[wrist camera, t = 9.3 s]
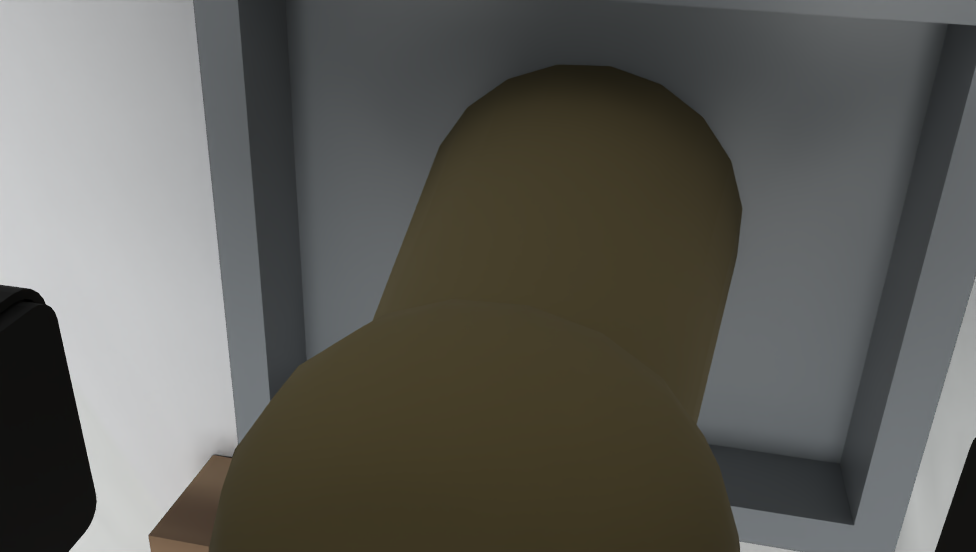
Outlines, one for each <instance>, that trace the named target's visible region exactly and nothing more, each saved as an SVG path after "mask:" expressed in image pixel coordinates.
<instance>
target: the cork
mask: <svg viewBox="0 0 976 552" xmlns="http://www.w3.org/2000/svg"><path fill="white" fill-rule="evenodd" d="M742 209H743V208H742V204H741V200H740V196H739V191H738V187H737V183H736V179H735V175H734V170H733V166H732V162H731V160H730V158H729V156H728V155H727V153H726V152H725V150H724V149H723V147H722V146H721V144H720V143H719V141H718V139H717V138H716V136H715V135H714V133H713V132H712V130H711V129H710V127H709V126H708V124H707V123H706V121H705V119H704V118H703V117H702V116H701V115H700V114H698V113H697V112H696V111H694V110H693V109H692V108H691V107H689V106H688V105H687V104H686V103H684V102H683V101H682V100H680V99H679V98H678V97H677V96H675V95H674V94H673V93H672V92H670V91H669V90H668V89H666V88H665V87H664V86H663V85H661V84H659V83H656V82H653V81H650V80H648V79H645V78H642V77H639V76H636V75H634V74H631V73H628V72H625V71H623V70H620V69H617V68H614V67H612V66H589V65H558V64H557V65H554V66H551V67H547V68H544V69H540V70H537V71H534V72H530V73H527V74H523V75H520V76H517V77H513V78H510V79H507V80H506V81H504V82H503V83H501V84H500V85H499V86H497V87H496V88H494V89H493V90H492V91H490V92H489V93H487V94H486V95H484V96H483V97H482V98H480V99H479V100H477V101H476V102H474V103H473V104H472V105H470V106H469V107H467V109H466V110H465V111H464V113H463V114H462V116H461V117H460V118H459V120H458V121H457V123H456V124H455V125H454V127H453V128H452V129H451V131H450V132H449V134H448V135H447V136H446V138H445V139H444V141H443V142H442V143H441V145H440V146H439V149H438V152H437V154H436V157H435V159H434V162H433V165H432V167H431V170H430V172H429V175H428V178H427V180H426V183H425V185H424V188H423V191H422V193H421V196H420V198H419V201H418V204H417V206H416V209H415V211H414V214H413V217H412V219H411V222H410V224H409V227H408V230H407V232H406V235H405V237H404V240H403V243H402V245H401V248H400V250H399V253H398V256H397V258H396V261H395V263H394V266H393V269H392V271H391V274H390V276H389V279H388V282H387V284H386V287H385V289H384V292H383V295H382V297H381V300H380V302H379V305H378V308H377V310H376V313H375V315H374V318H373V321H371V322H370V323H368V324H366V325H364V326H363V327H361V328H359V329H358V330H356V331H354V332H353V333H351V334H349V335H348V336H346V337H345V338H343V339H341V340H340V341H338V342H336V343H335V344H333V345H332V346H330V347H328V348H327V349H325V350H323V351H322V352H320V353H319V354H317V355H315V356H314V357H312V358H310V359H309V360H307V361H306V362H304V363H302V364H301V365H299V366H298V367H297V368H296V370H295V371H294V372H293V373H292V374H291V376H290V377H289V378H288V379H287V381H286V382H285V383H284V384H283V386H282V387H281V388H280V389H279V391H278V392H277V393H276V394H275V396H274V397H273V398H272V399H271V401H270V402H269V404H268V405H267V406H266V408H265V409H264V410H263V412H262V413H261V415H260V416H259V417H258V419H257V420H256V421H255V423H254V424H253V425H252V427H251V428H250V430H249V431H248V432H247V434H246V435H245V436H244V438H243V439H242V441H241V442H240V443H239V445H238V446H237V447H236V449H235V451H234V454H233V457H232V460H231V463H230V466H229V469H228V472H227V475H226V478H225V481H224V484H223V487H222V490H221V494H220V499H219V503H218V508H217V513H216V517H215V522H214V527H213V531H212V536H211V541H210V545H209V552H740V545H739V535H738V531H737V528H736V524H735V520H734V517H733V513H732V510H731V506H730V502H729V499H728V495H727V492H726V488H725V484H724V481H723V477H722V474H721V470H720V467H719V465H718V463H717V461H716V459H715V457H714V455H713V453H712V451H711V449H710V447H709V444H708V442H707V440H706V438H705V436H704V435H703V433H702V432H701V431H700V429H699V428H698V426H697V421H698V417H699V413H700V409H701V405H702V400H703V396H704V392H705V388H706V384H707V380H708V375H709V371H710V367H711V363H712V359H713V355H714V350H715V346H716V342H717V338H718V334H719V330H720V325H721V321H722V317H723V313H724V309H725V305H726V300H727V296H728V292H729V288H730V284H731V280H732V275H733V271H734V267H735V263H736V259H737V253H738V244H739V236H740V227H741V218H742Z"/></svg>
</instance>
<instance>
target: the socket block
mask: <svg viewBox="0 0 976 552" xmlns="http://www.w3.org/2000/svg"><path fill="white" fill-rule="evenodd" d="M231 460H232V458H228V457H222V456H216V455H213V456H212V457H211V458H210V460H209V461H208V462H207V463H206V465H205V466H204V467H203V468H202V469H201V471H200V472H199V473H198V474H197V476H196V477H195V478H194V479H193V481H192V482H191V483H190V484H189V486H188V487H187V488H186V489H185V491H184V492H183V493H182V494H181V496H180V497H179V498H178V499H177V501H176V502H175V503H174V504H173V506H172V507H171V508H170V509H169V511H168V512H167V513H166V514H165V516H164V517H163V518H162V519H161V520H160V522H159V523H158V524H157V525H156V527H155V528H154V529H153V530H152V532H151V533H150V534H149V535H148V536H149V542H150V548H151V552H209V545H210V541H211V536H212V531H213V527H214V522H215V517H216V513H217V508H218V503H219V499H220V494H221V490H222V487H223V484H224V481H225V478H226V475H227V472H228V469H229V466H230V463H231Z"/></svg>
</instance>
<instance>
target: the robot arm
mask: <svg viewBox="0 0 976 552" xmlns="http://www.w3.org/2000/svg"><path fill="white" fill-rule="evenodd" d="M96 502H97V501H96V493H95V488H94V484H93V479H92V474H91V470H90V465H89V461H88V456H87V452H86V447H85V443H84V438H83V433H82V429H81V424H80V420H79V415H78V411H77V406H76V402H75V397H74V392H73V388H72V383H71V379H70V374H69V370H68V365H67V361H66V356H65V351H64V347H63V342H62V338H61V333H60V329H59V324H58V320H57V317H56V314H55V312H54V310H53V309H52V308H51V307H50V306H48V305H46V304H45V302H44V299H43V298H42V297H41V296H40V294H39V293H38V292H36V291H34V290H32V289H27V288H19V287H12V286H5V285H0V552H69V550H70V549H71V548H72V547H73V546H74V545H75V543H76V542H77V541H78V540H79V539H80V538H81V536H82V535H83V534H84V533H85V532H86V530H87V529H88V527H89V526H90V524H91V522H92V520H93V517H94V514H95V510H96ZM935 552H976V438H975V439H974V440H973V442H972V445H971V447H970V450H969V452H968V455H967V458H966V461H965V464H964V467H963V470H962V473H961V476H960V479H959V482H958V485H957V488H956V491H955V494H954V497H953V500H952V503H951V506H950V509H949V511H948V514H947V517H946V520H945V523H944V526H943V529H942V532H941V535H940V538H939V541H938V544H937V547H936V550H935Z"/></svg>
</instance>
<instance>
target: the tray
mask: <svg viewBox="0 0 976 552" xmlns="http://www.w3.org/2000/svg"><path fill="white" fill-rule="evenodd" d="M193 3H194V13H195V23H196V33H197V42H198V52H199V62H200V72H201V82H202V92H203V102H204V111H205V121H206V131H207V141H208V151H209V161H210V171H211V180H212V190H213V200H214V210H215V220H216V230H217V240H218V249H219V259H220V269H221V279H222V289H223V299H224V309H225V318H226V328H227V338H228V348H229V358H230V368H231V378H232V387H233V397H234V407H235V417H236V427H237V437H238V445H239V443H240V442H241V441H242V439H243V438H244V436H245V435H246V434H247V432H248V431H249V430H250V428H251V427H252V425H253V424H254V423H255V421H256V420H257V419H258V417H259V416H260V415H261V413H262V412H263V410H264V409H265V408H266V406H267V405H268V404H269V402H270V401H271V399H272V398H273V397H274V396H275V394H276V393H277V392H278V391H279V389H280V388H281V387H282V386H283V384H284V383H285V382H286V381H287V379H288V378H289V377H290V376H291V374H292V373H293V372H294V371H295V370H296V368H297V367H298V366H299V365H301V364H302V363H304V362H306V361H307V360H309V359H310V358H312V357H314V356H315V355H317V354H319V353H320V352H322V351H323V350H325V349H327V348H328V347H330V346H332V345H333V344H335V343H336V342H338V341H340V340H341V339H343V338H345V337H346V336H348V335H349V334H351V333H353V332H354V331H356V330H358V329H359V328H361V327H363V326H364V325H366V324H368V323H370V322H371V321H373V318H374V315H375V313H376V310H377V308H378V305H379V302H380V300H381V297H382V295H383V292H384V289H385V287H386V284H387V282H388V279H389V276H390V274H391V271H392V269H393V266H394V263H395V261H396V258H397V256H398V253H399V250H400V248H401V245H402V243H403V240H404V237H405V235H406V232H407V230H408V227H409V224H410V222H411V219H412V217H413V214H414V211H415V209H416V206H417V204H418V201H419V198H420V196H421V193H422V191H423V188H424V185H425V183H426V180H427V178H428V175H429V172H430V170H431V167H432V165H433V162H434V159H435V157H436V154H437V152H438V149H439V146H440V145H441V143H442V142H443V141H444V139H445V138H446V136H447V135H448V134H449V132H450V131H451V129H452V128H453V127H454V125H455V124H456V123H457V121H458V120H459V118H460V117H461V116H462V114H463V113H464V111H465V110H466V109H467V107H469V106H470V105H472V104H473V103H474V102H476V101H477V100H479V99H480V98H482V97H483V96H484V95H486V94H487V93H489V92H490V91H492V90H493V89H494V88H496V87H497V86H499V85H500V84H501V83H503V82H504V81H506V80H507V79H510V78H513V77H517V76H520V75H523V74H527V73H530V72H534V71H537V70H540V69H544V68H547V67H551V66H554V65H557V64H558V65H589V66H612V67H614V68H617V69H620V70H623V71H625V72H628V73H631V74H634V75H636V76H639V77H642V78H645V79H648V80H650V81H653V82H656V83H659V84H661V85H663V86H664V87H665V88H666V89H668V90H669V91H670V92H672V93H673V94H674V95H675V96H677V97H678V98H679V99H680V100H682V101H683V102H684V103H686V104H687V105H688V106H689V107H691V108H692V109H693V110H694V111H696V112H697V113H698V114H700V115H701V116H702V117H703V118H704V119H705V121H706V123H707V124H708V126H709V127H710V129H711V130H712V132H713V133H714V135H715V136H716V138H717V139H718V141H719V143H720V144H721V146H722V147H723V149H724V150H725V152H726V153H727V155H728V156H729V158H730V160H731V162H732V166H733V170H734V175H735V179H736V183H737V187H738V191H739V196H740V200H741V204H742V208H743V209H742V218H741V227H740V236H739V244H738V253H737V259H736V263H735V267H734V271H733V275H732V280H731V284H730V288H729V292H728V296H727V300H726V305H725V309H724V313H723V317H722V321H721V325H720V330H719V334H718V338H717V342H716V346H715V350H714V355H713V359H712V363H711V367H710V371H709V375H708V380H707V384H706V388H705V392H704V396H703V400H702V405H701V409H700V413H699V417H698V421H697V426H698V428H699V429H700V431H701V432H702V433H703V435H704V436H705V438H706V440H707V442H708V444H709V447H710V449H711V451H712V453H713V455H714V457H715V459H716V461H717V463H718V465H719V467H720V470H721V474H722V477H723V481H724V484H725V488H726V492H727V495H728V499H729V502H730V506H731V510H732V513H733V517H734V520H735V524H736V528H737V531H738V535H739V541H740V542H746V543H752V544H758V545H764V546H770V547H776V548H782V549H788V550H794V551H800V552H894V551H895V548H896V544H897V541H898V538H899V534H900V531H901V527H902V524H903V521H904V517H905V514H906V510H907V507H908V504H909V500H910V497H911V493H912V490H913V487H914V483H915V480H916V476H917V473H918V470H919V466H920V463H921V459H922V456H923V453H924V449H925V446H926V442H927V439H928V436H929V432H930V429H931V425H932V422H933V419H934V415H935V412H936V408H937V405H938V402H939V398H940V395H941V391H942V388H943V385H944V381H945V378H946V374H947V371H948V368H949V364H950V361H951V357H952V354H953V351H954V347H955V344H956V340H957V337H958V334H959V330H960V327H961V323H962V320H963V317H964V313H965V310H966V306H967V303H968V300H969V296H970V293H971V289H972V286H973V283H974V279H975V276H976V0H193Z"/></svg>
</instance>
